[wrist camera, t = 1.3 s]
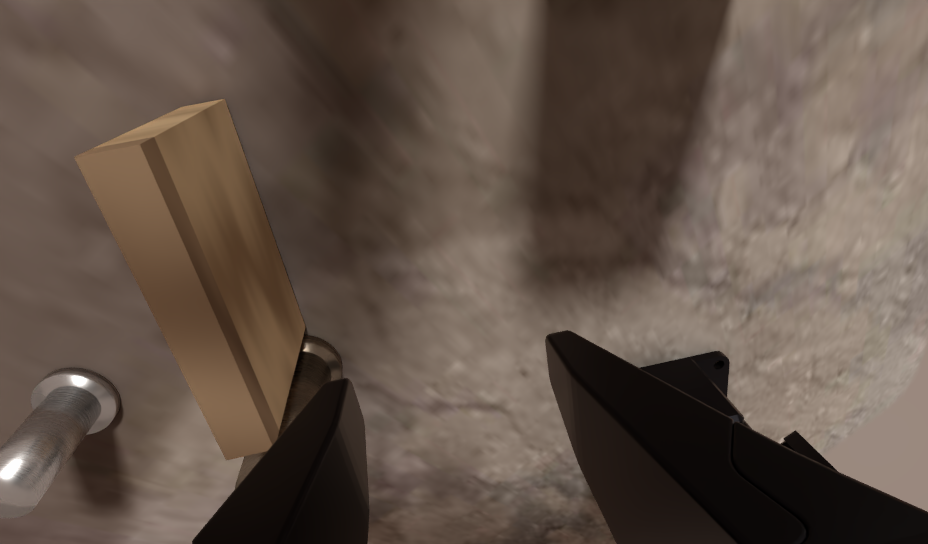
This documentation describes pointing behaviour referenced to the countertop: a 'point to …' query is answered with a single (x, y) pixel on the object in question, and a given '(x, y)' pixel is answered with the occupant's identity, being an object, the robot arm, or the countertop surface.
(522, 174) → the countertop surface
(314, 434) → the robot arm
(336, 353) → the hinge post
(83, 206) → the countertop surface
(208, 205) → the gate
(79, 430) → the post
